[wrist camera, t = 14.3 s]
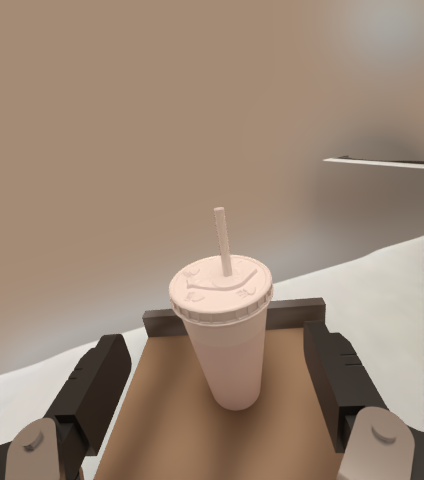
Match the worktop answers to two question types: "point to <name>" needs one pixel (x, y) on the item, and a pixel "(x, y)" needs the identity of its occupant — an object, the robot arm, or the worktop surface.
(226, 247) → the smoothie
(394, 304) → the worktop surface
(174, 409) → the shelf board
